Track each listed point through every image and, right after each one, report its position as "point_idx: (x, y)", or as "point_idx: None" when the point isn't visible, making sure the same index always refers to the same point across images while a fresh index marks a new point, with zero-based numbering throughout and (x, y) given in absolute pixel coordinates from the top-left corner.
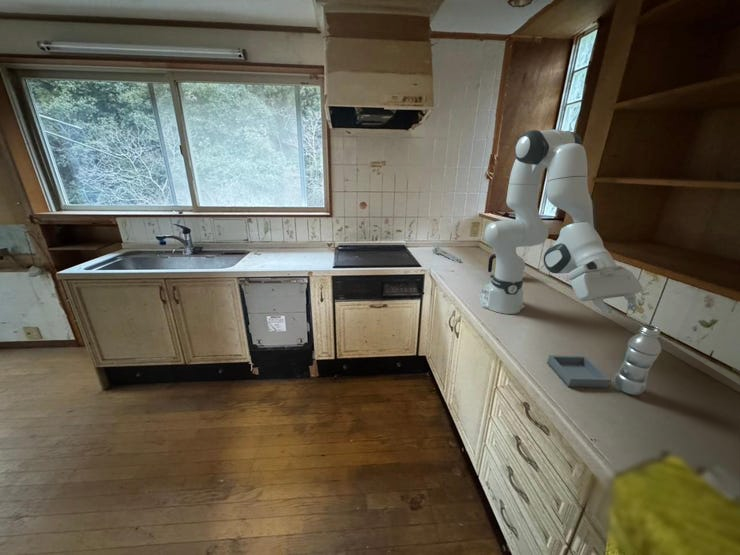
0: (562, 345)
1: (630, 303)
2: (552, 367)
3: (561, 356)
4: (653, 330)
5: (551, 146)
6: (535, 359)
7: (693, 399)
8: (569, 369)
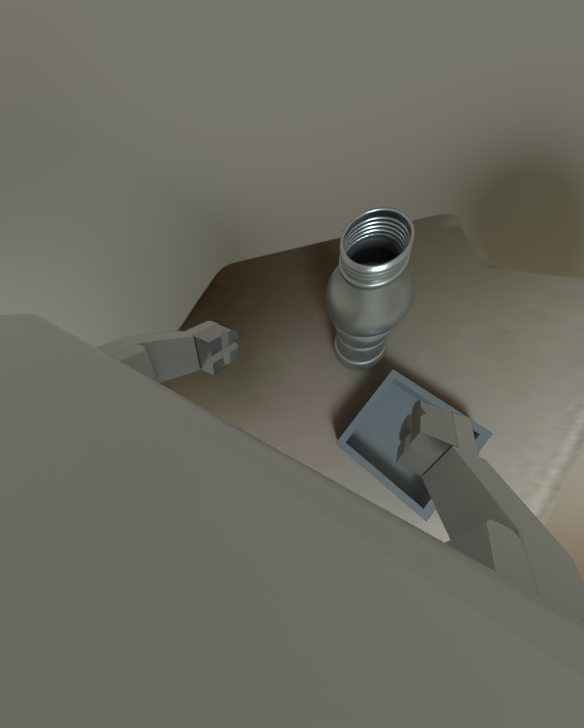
0: None
1: (194, 358)
2: None
3: (395, 489)
4: (344, 250)
5: None
6: None
7: (292, 284)
8: None
